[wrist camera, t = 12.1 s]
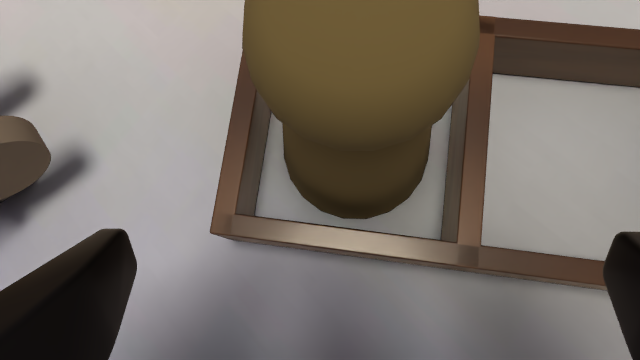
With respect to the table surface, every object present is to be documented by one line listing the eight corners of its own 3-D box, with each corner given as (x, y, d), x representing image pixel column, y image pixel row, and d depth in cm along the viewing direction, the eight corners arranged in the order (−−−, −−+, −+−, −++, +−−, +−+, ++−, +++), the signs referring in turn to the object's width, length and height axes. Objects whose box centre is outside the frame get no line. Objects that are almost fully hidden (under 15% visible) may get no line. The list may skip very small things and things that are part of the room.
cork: (321, 244, 19) (281, 201, 8) (261, 117, 20) (157, -67, 9) (455, 179, 19) (590, 52, 8) (386, 57, 20) (426, -191, 10)
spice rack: (686, 301, 18) (753, 306, 15) (230, 240, 19) (208, 233, 16) (682, 73, 19) (742, 37, 16) (266, 34, 21) (252, -5, 18)
